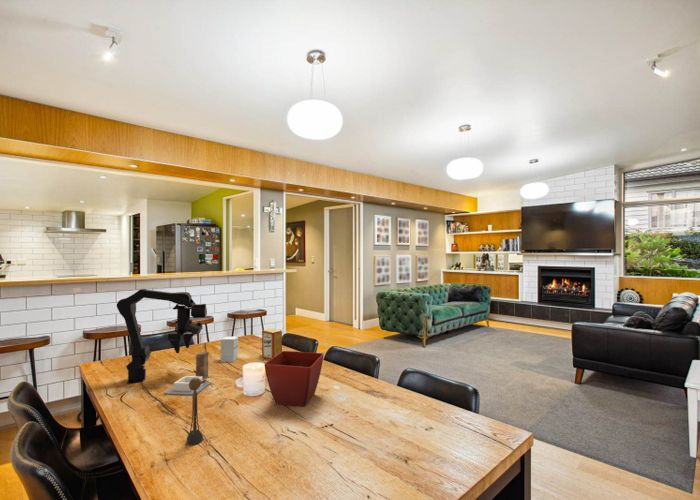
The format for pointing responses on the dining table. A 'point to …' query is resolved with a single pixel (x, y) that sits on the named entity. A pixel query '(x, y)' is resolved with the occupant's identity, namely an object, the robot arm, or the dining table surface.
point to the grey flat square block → (185, 386)
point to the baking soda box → (271, 343)
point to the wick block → (202, 365)
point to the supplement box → (229, 349)
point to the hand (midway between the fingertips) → (182, 350)
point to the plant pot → (293, 376)
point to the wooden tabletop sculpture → (195, 434)
